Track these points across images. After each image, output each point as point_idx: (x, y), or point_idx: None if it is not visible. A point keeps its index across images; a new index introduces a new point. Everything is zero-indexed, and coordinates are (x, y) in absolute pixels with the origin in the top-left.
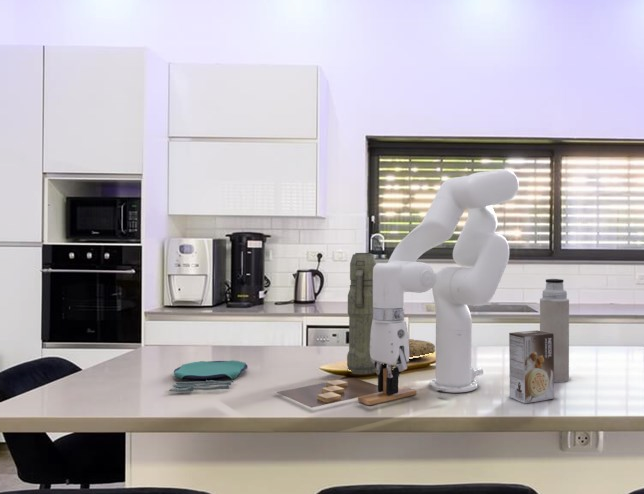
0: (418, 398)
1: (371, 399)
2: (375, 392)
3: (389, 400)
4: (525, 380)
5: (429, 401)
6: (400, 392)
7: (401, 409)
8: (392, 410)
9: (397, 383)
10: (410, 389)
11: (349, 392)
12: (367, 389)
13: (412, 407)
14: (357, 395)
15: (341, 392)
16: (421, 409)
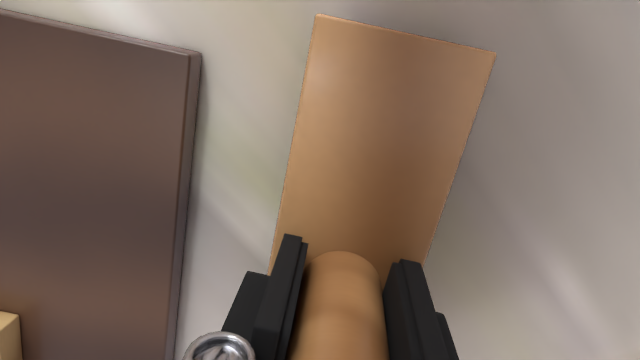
0: (472, 20)
1: None
2: (158, 198)
3: None
4: None
5: (603, 36)
6: (410, 214)
7: (503, 305)
8: (464, 345)
9: (455, 352)
10: (429, 77)
11: (37, 295)
12: (50, 172)
13: (548, 238)
14: (133, 318)
15: (17, 335)
16: (629, 240)
